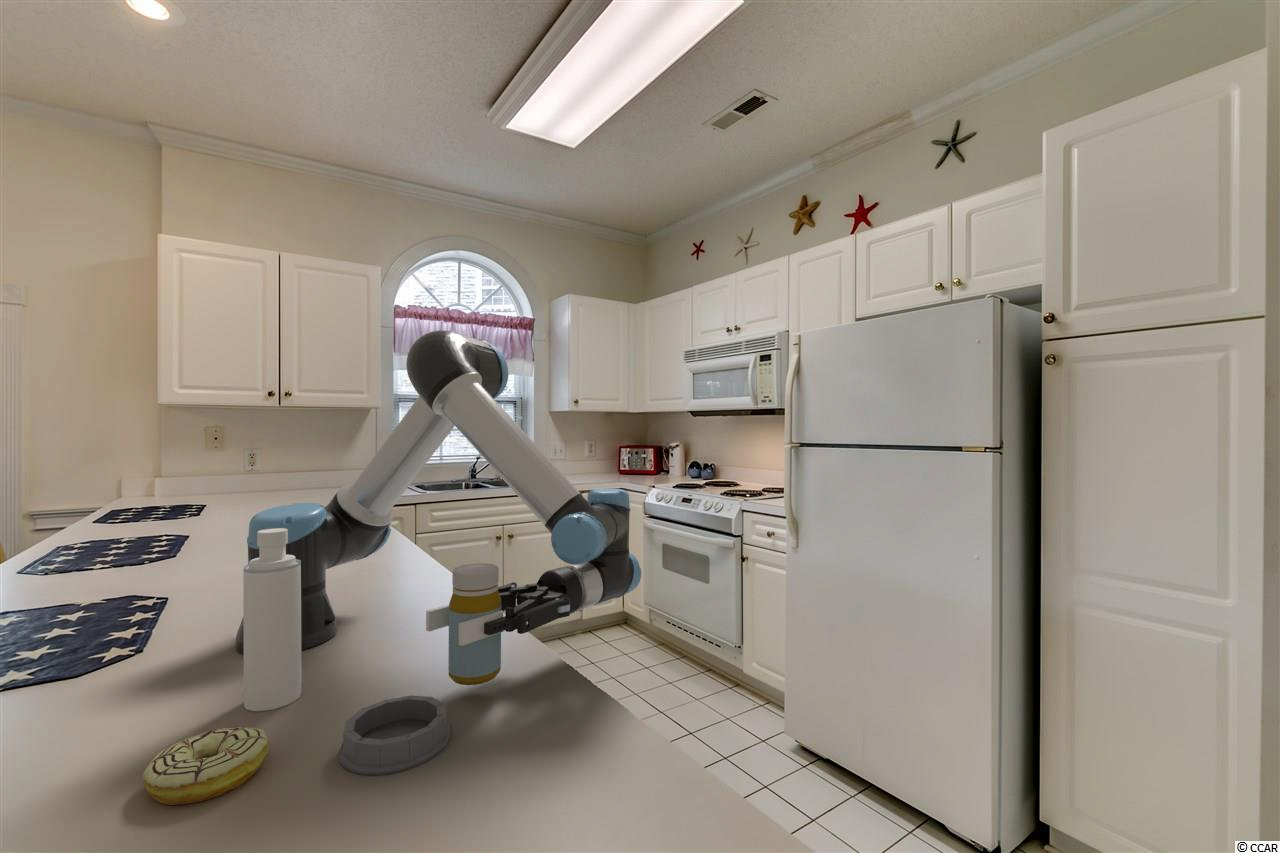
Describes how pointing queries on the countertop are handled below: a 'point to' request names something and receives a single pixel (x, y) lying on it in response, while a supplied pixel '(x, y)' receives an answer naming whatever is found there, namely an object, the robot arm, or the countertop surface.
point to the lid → (394, 735)
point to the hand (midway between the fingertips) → (443, 627)
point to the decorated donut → (205, 765)
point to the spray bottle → (272, 624)
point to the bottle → (468, 602)
